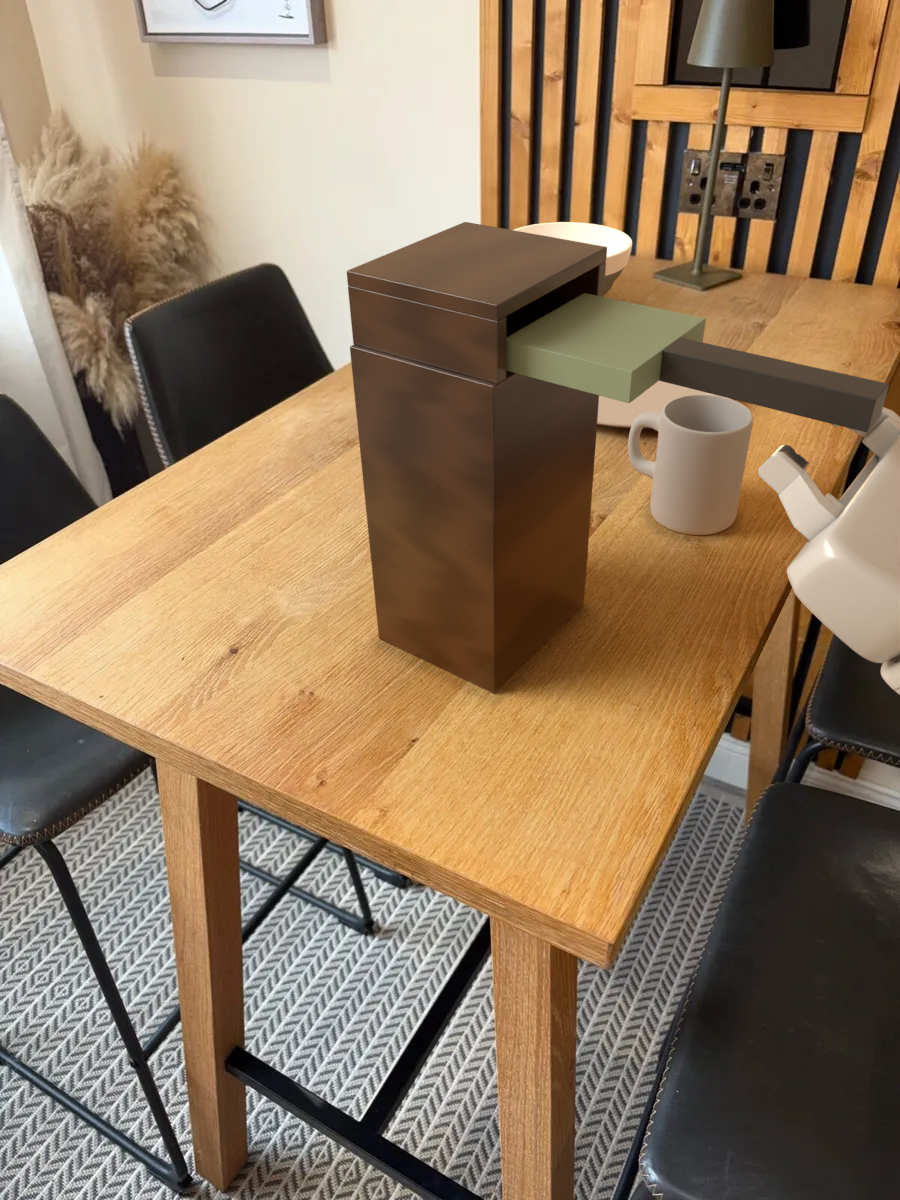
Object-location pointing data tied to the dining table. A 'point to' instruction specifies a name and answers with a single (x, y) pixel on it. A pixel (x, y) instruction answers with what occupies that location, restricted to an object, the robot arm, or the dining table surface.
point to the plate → (640, 404)
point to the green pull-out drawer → (678, 362)
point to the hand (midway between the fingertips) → (800, 423)
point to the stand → (471, 447)
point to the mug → (695, 461)
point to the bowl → (591, 242)
